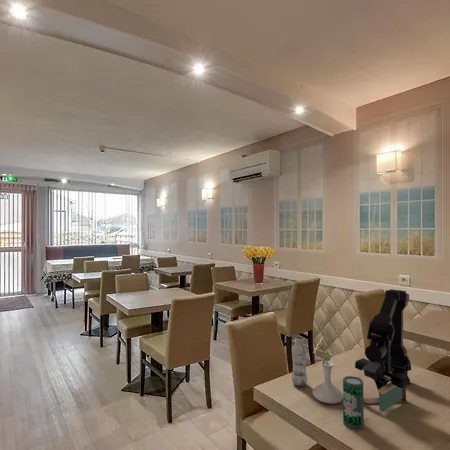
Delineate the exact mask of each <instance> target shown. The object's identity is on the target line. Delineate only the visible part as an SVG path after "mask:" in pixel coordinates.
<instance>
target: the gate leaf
mask: <svg viewBox="0 0 450 450" xmlns="http://www.w3.org/2000/svg"><path fill="white" fill-rule="evenodd" d="M377 392H378V398H379V404H378V405H379V407H378V408H379V411H380V412H385V411H386V410H388V409H389V408H390V407H392V406H394V405H395V404H398V403H397V402H398V401H400V400H401V399H402V388H399V387H397V386H395V385H393V384H392V383H391V381H389V382H388V383H387V385H385V386H384V387H382V388H380V389H377Z"/></svg>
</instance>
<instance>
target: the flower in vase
mask: <svg viewBox="0 0 450 450" xmlns="http://www.w3.org/2000/svg"><path fill="white" fill-rule="evenodd" d="M324 340H325V336H323V335H322V337H321V338H320V339H319V343H317V344H316V347H315V348H314V350H313V352H312V354H314V355H316V354H317V353H318V352H319V350H320V349H322V351H323V357H324V359H323V360H322V361H320V364H321V366H322V368H323V372H324V374H323V375H324V378H323V381H322V382H321V383H319V384H318V385H316V386H315V387H313V389H312V392H311V393H312V396H313V397H314V398H315V399H316V400H318V401H320V402H322V403H324V404H325V403H326V404H339V403H340V402H341V401H343V392H342V391H341V390H340V389H339V388H338V387H336V386H335V385H334V384H333V383H332V380H331V373H332V369H333V367H334V366H335V364H334V362H332V361H330V360H331V355H330V353H329V352H328V351H325V350H324V347H323V343H324Z"/></svg>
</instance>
